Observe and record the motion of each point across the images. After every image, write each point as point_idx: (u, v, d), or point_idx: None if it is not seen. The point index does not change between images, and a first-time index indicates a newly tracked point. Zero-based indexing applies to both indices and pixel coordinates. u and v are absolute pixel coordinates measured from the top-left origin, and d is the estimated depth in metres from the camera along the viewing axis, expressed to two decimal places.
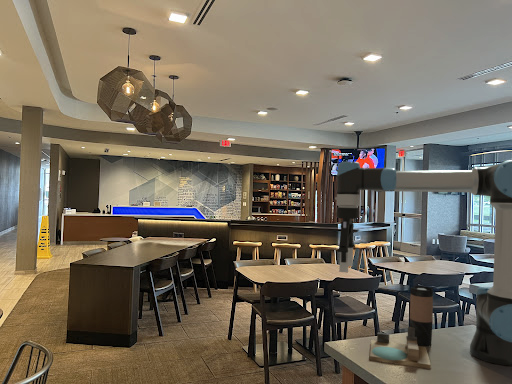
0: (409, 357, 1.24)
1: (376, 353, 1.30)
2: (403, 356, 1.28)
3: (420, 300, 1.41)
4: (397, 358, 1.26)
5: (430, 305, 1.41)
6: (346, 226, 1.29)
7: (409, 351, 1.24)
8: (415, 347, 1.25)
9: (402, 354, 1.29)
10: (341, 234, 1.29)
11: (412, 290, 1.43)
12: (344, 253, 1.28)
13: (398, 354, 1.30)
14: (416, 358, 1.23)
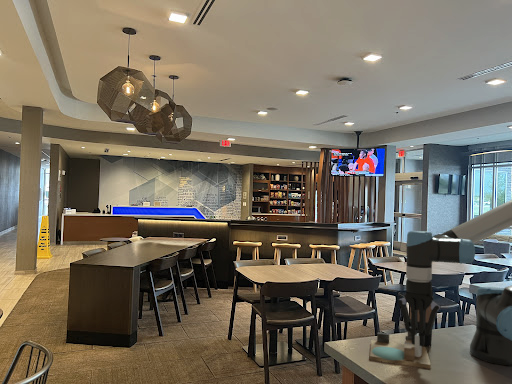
0: (405, 356, 1.24)
1: (376, 353, 1.30)
2: (403, 356, 1.28)
3: None
4: (397, 358, 1.26)
5: (430, 305, 1.41)
6: None
7: (405, 350, 1.24)
8: (411, 347, 1.25)
9: (402, 354, 1.29)
10: None
11: None
12: None
13: (398, 354, 1.30)
14: (412, 357, 1.23)
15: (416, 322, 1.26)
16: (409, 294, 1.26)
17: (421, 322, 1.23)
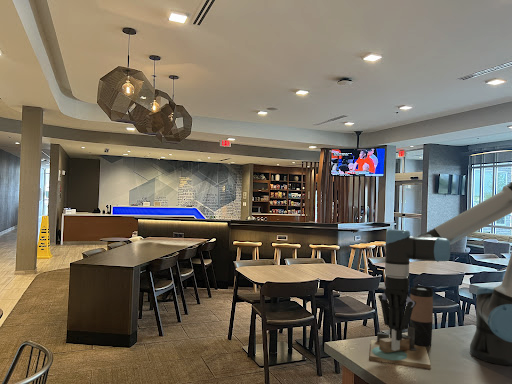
0: (380, 347, 1.31)
1: (376, 353, 1.30)
2: (403, 356, 1.28)
3: (420, 300, 1.41)
4: (397, 358, 1.26)
5: (430, 305, 1.41)
6: None
7: (380, 342, 1.31)
8: (387, 340, 1.30)
9: (402, 354, 1.29)
10: None
11: (412, 291, 1.43)
12: None
13: (398, 354, 1.30)
14: (384, 349, 1.30)
15: (394, 317, 1.30)
16: (388, 290, 1.32)
17: (397, 317, 1.28)
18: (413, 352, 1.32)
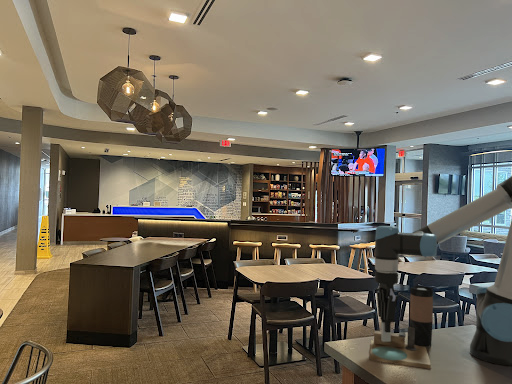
0: None
1: (376, 353, 1.30)
2: (403, 356, 1.28)
3: (420, 300, 1.41)
4: (397, 358, 1.26)
5: (430, 305, 1.41)
6: None
7: None
8: (379, 333, 1.38)
9: (402, 354, 1.29)
10: None
11: (412, 291, 1.43)
12: None
13: (398, 354, 1.30)
14: (374, 340, 1.38)
15: None
16: (380, 283, 1.38)
17: (384, 310, 1.34)
18: (413, 352, 1.32)
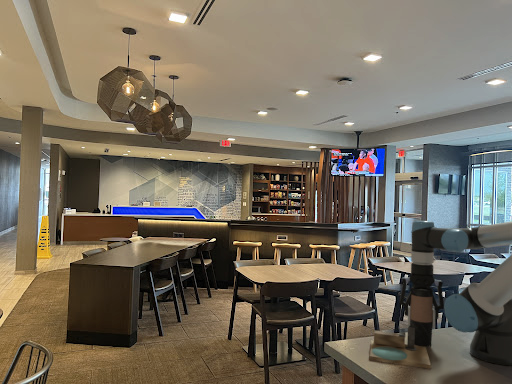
0: None
1: (376, 353, 1.30)
2: (403, 356, 1.28)
3: (420, 300, 1.41)
4: (397, 358, 1.26)
5: (430, 305, 1.41)
6: None
7: None
8: (379, 332, 1.38)
9: (402, 354, 1.29)
10: None
11: (412, 290, 1.43)
12: None
13: (398, 354, 1.30)
14: (374, 340, 1.38)
15: None
16: (415, 277, 1.44)
17: (433, 298, 1.42)
18: (413, 352, 1.32)
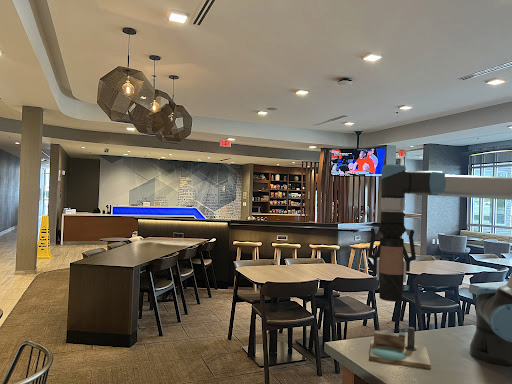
0: None
1: (376, 353, 1.30)
2: (403, 356, 1.28)
3: (389, 250, 1.28)
4: (397, 358, 1.26)
5: (400, 256, 1.28)
6: (371, 232, 1.33)
7: None
8: (379, 332, 1.38)
9: (402, 354, 1.29)
10: None
11: (381, 241, 1.30)
12: (373, 260, 1.32)
13: (398, 354, 1.30)
14: (374, 340, 1.38)
15: None
16: (385, 226, 1.31)
17: (404, 249, 1.29)
18: (413, 352, 1.32)
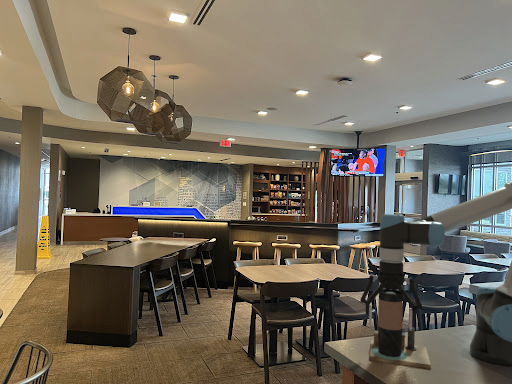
0: None
1: (376, 353, 1.30)
2: (403, 356, 1.28)
3: (388, 305, 1.27)
4: (397, 358, 1.26)
5: (399, 311, 1.27)
6: (369, 279, 1.32)
7: None
8: None
9: (402, 354, 1.29)
10: (366, 286, 1.34)
11: (380, 295, 1.30)
12: None
13: None
14: (374, 340, 1.38)
15: (374, 297, 1.32)
16: (384, 277, 1.30)
17: (407, 298, 1.28)
18: (413, 352, 1.32)
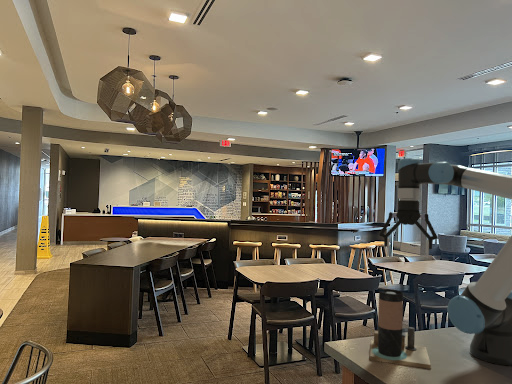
0: None
1: (376, 353, 1.30)
2: (403, 356, 1.28)
3: (388, 305, 1.28)
4: (397, 358, 1.26)
5: (400, 311, 1.28)
6: None
7: None
8: None
9: (402, 354, 1.29)
10: None
11: (380, 295, 1.30)
12: (384, 238, 1.50)
13: None
14: (374, 340, 1.38)
15: (392, 231, 1.50)
16: (402, 214, 1.48)
17: (424, 230, 1.45)
18: (413, 352, 1.32)
